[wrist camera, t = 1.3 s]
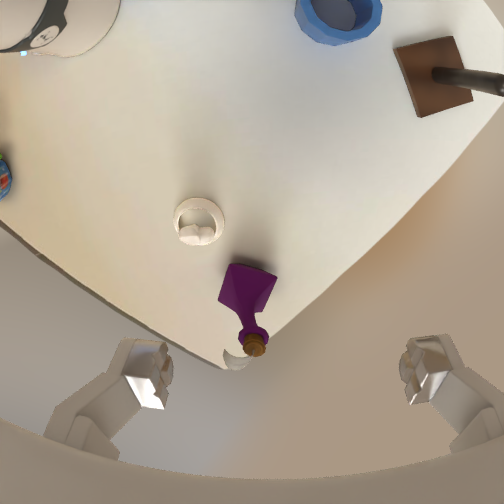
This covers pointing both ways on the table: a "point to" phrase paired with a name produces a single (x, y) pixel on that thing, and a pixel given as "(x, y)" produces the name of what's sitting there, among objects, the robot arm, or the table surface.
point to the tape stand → (442, 76)
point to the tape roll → (366, 22)
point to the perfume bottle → (247, 308)
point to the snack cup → (4, 179)
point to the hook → (194, 232)
